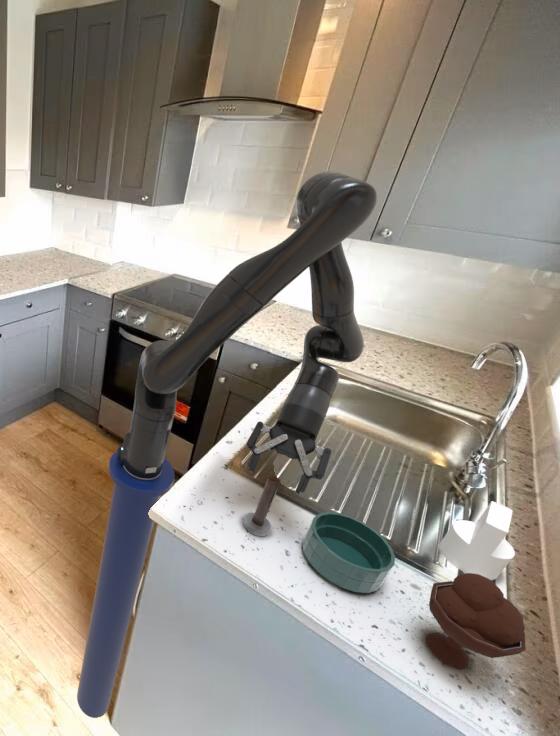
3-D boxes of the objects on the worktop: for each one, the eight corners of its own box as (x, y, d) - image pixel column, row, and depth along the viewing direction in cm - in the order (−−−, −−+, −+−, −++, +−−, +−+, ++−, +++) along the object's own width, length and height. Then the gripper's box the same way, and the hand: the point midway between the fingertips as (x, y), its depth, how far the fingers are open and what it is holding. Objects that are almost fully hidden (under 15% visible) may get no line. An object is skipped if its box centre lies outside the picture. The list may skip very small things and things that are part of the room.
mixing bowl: (294, 565, 81) (306, 541, 78) (308, 524, 91) (318, 501, 88) (377, 610, 74) (393, 586, 71) (382, 560, 84) (396, 537, 81)
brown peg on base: (239, 527, 89) (257, 479, 83) (246, 513, 92) (264, 467, 86) (265, 541, 86) (285, 492, 80) (271, 526, 90) (291, 479, 84)
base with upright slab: (443, 533, 91) (471, 491, 85) (500, 563, 85) (534, 519, 80) (434, 556, 85) (464, 512, 80) (494, 589, 79) (531, 544, 74)
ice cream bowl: (401, 650, 68) (445, 589, 62) (411, 604, 76) (452, 545, 69) (490, 707, 62) (550, 646, 55) (491, 651, 69) (545, 591, 62)
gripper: (267, 391, 89) (236, 462, 86) (347, 420, 81) (315, 498, 78) (267, 403, 95) (237, 469, 92) (340, 430, 87) (311, 503, 84)
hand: (273, 482), depth 85 cm, fingers open, 8 cm apart
